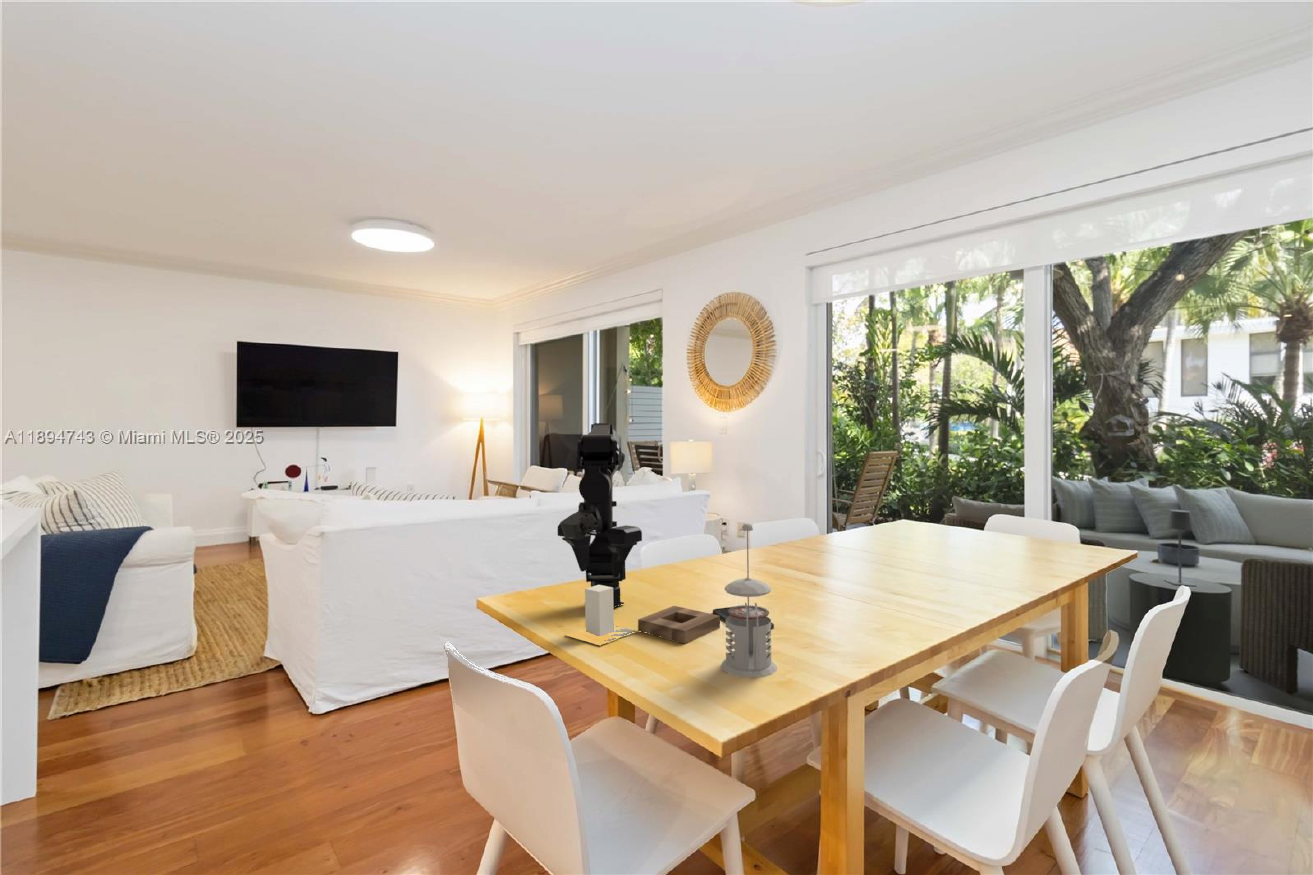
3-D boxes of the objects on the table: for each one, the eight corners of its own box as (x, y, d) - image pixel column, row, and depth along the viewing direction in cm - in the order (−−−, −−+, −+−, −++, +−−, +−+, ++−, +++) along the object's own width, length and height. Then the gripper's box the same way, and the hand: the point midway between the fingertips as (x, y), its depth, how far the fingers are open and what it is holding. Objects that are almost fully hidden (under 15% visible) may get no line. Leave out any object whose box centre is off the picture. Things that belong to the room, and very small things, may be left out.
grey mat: (564, 636, 127) (564, 634, 127) (599, 623, 135) (599, 621, 135) (600, 646, 121) (600, 644, 121) (635, 632, 129) (635, 630, 129)
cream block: (585, 633, 128) (585, 588, 127) (599, 627, 131) (598, 584, 131) (600, 637, 125) (599, 591, 125) (613, 631, 128) (613, 587, 128)
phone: (742, 605, 144) (776, 624, 130) (742, 610, 144) (776, 630, 130) (710, 609, 142) (741, 629, 127) (710, 614, 142) (741, 635, 127)
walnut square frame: (638, 631, 129) (638, 619, 129) (674, 617, 139) (673, 605, 139) (685, 643, 122) (685, 630, 122) (719, 627, 131) (719, 615, 131)
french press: (773, 656, 115) (771, 519, 114) (783, 682, 103) (782, 529, 103) (718, 656, 115) (717, 519, 115) (723, 682, 104) (721, 530, 103)
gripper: (536, 497, 127) (537, 575, 127) (603, 504, 115) (604, 589, 115) (577, 493, 135) (578, 565, 136) (643, 498, 124) (644, 577, 124)
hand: (599, 574), depth 127 cm, fingers open, 9 cm apart
